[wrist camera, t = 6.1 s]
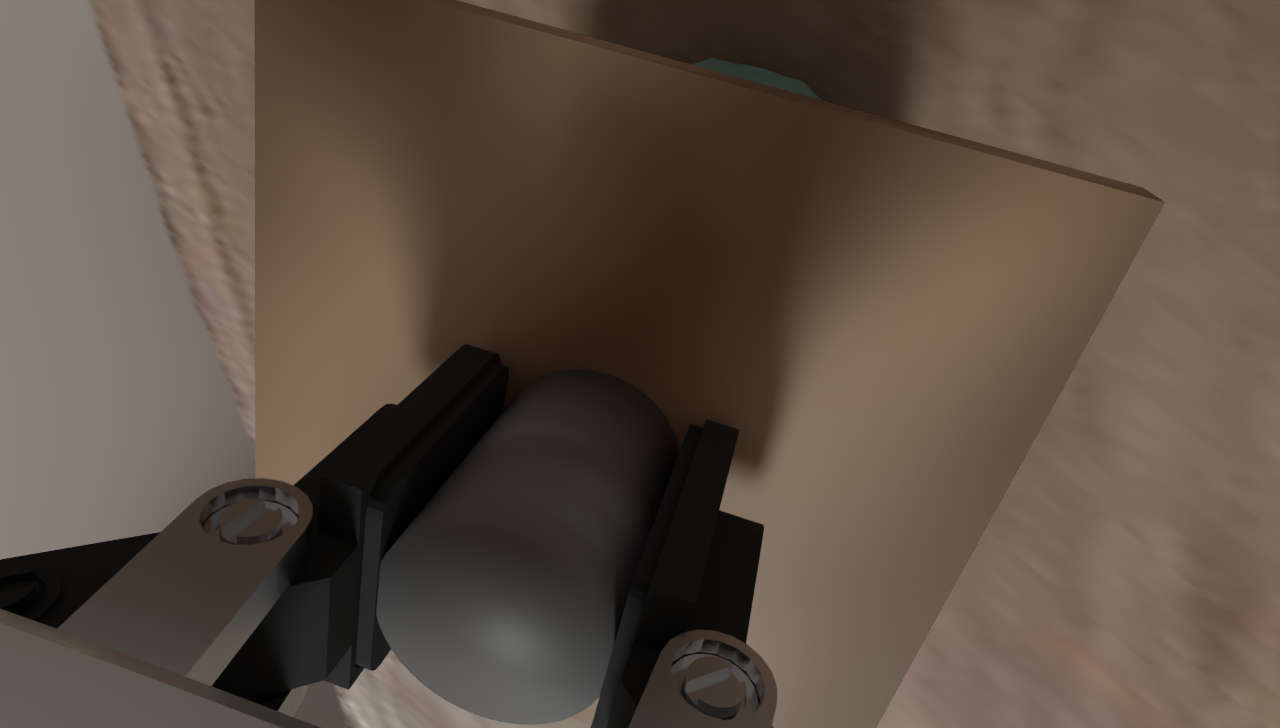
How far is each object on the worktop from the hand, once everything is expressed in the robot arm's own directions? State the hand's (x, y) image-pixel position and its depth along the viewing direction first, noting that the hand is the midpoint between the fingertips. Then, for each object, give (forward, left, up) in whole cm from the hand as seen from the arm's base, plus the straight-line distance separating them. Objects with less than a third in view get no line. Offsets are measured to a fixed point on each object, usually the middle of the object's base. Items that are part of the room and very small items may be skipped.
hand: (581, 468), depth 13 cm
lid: (0, 0, -1) cm, 1 cm away
